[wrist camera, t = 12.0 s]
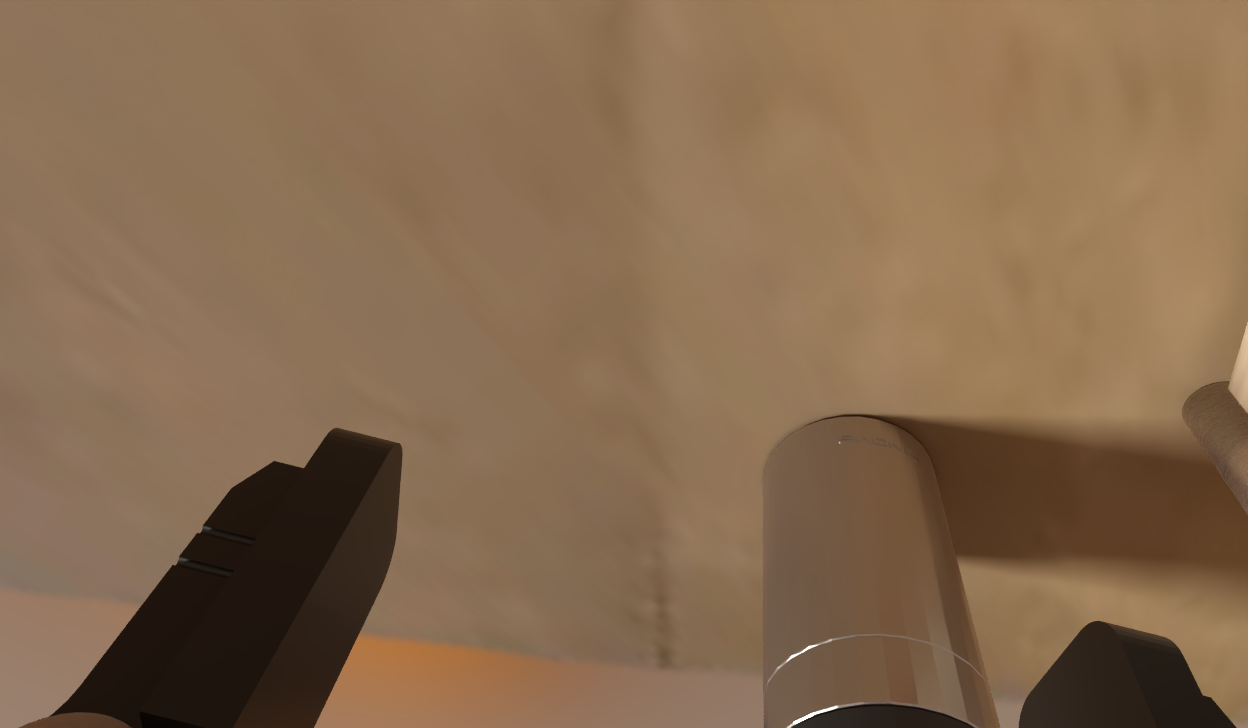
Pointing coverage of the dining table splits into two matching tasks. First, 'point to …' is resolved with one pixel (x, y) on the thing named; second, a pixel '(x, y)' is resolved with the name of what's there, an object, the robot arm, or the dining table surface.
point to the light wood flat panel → (1241, 374)
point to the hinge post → (1221, 434)
